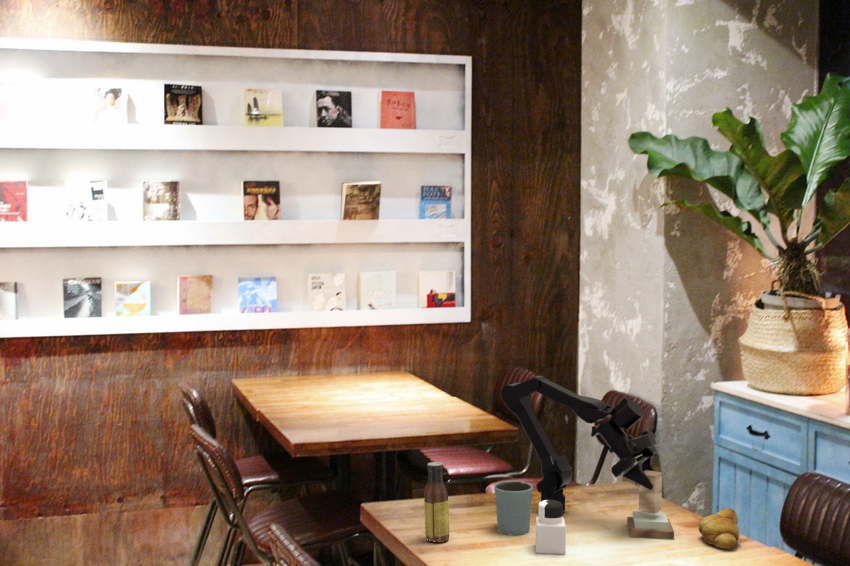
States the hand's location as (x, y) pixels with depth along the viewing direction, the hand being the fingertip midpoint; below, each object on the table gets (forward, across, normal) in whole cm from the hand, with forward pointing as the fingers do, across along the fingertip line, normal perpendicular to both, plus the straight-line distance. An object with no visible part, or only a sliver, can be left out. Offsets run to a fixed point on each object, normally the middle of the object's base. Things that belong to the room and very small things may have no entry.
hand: (655, 486), depth 231 cm
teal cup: (-13, -21, +31) cm, 39 cm away
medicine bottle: (-3, -28, +20) cm, 35 cm away
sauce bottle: (-21, -39, +39) cm, 60 cm away
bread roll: (+20, +2, -3) cm, 21 cm away
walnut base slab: (+8, 0, +10) cm, 12 cm away
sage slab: (+6, 0, +8) cm, 10 cm away
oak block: (+4, 0, +6) cm, 7 cm away
